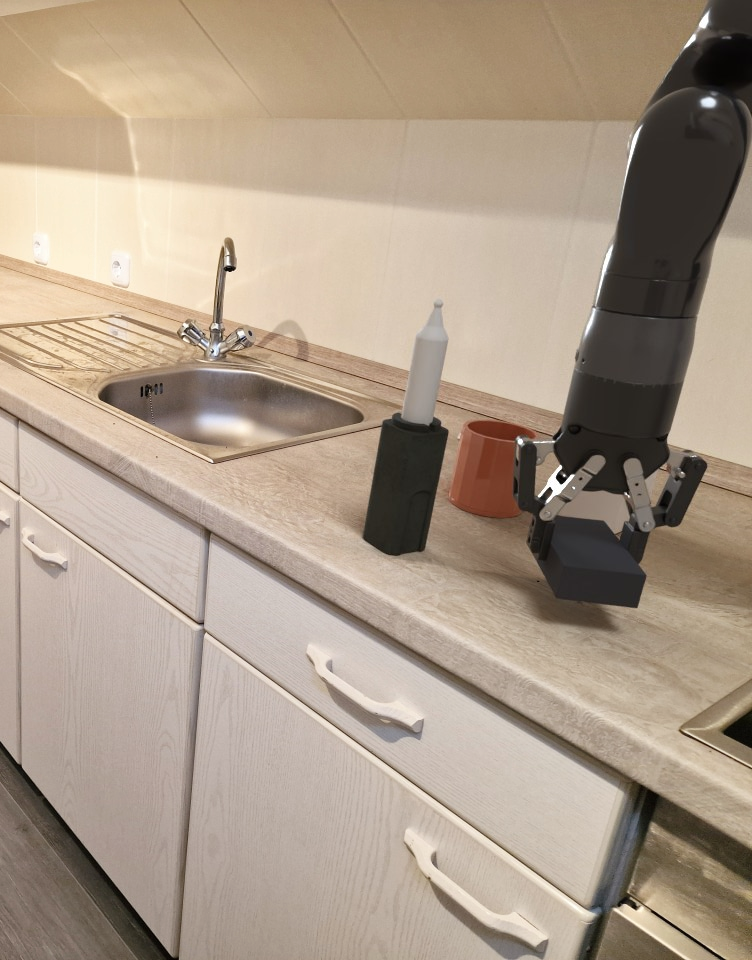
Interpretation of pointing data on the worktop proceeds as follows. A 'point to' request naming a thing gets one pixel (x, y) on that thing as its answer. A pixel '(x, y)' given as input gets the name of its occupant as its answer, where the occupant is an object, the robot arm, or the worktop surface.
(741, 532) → the worktop surface
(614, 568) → the dark grey block
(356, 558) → the worktop surface
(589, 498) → the medicine bottle
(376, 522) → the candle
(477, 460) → the cup
